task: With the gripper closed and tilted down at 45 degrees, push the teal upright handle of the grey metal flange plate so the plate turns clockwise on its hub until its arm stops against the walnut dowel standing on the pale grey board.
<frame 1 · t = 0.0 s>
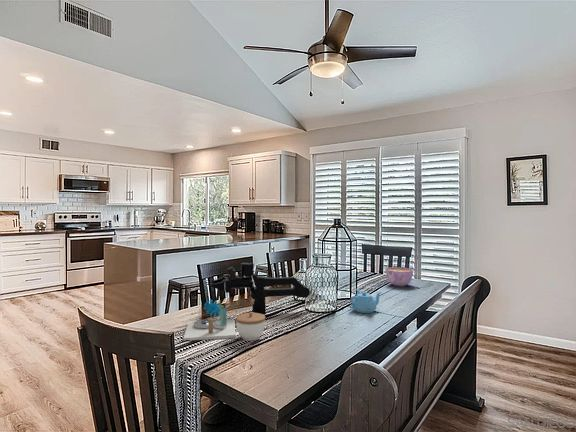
hand: (211, 283, 190), 17 cm above the table, tool horizontal, fingers open, 9 cm apart
lidded bowl: (250, 338, 157), on the table
clock board: (204, 328, 169), on the table
bowl of food: (399, 285, 262), on the table
flange plate: (210, 316, 167), point 6 cm above the table, hinge at 0.0°
teapot: (366, 310, 198), on the table
gear: (214, 315, 190), on the table
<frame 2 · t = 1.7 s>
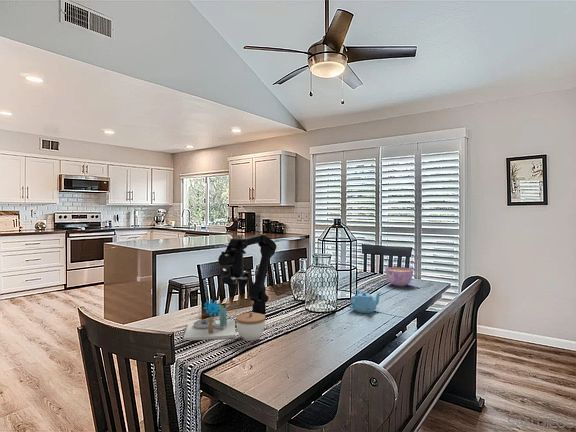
hand: (237, 294, 180), 13 cm above the table, tool pointing down, fingers open, 6 cm apart
nothing on the table moved.
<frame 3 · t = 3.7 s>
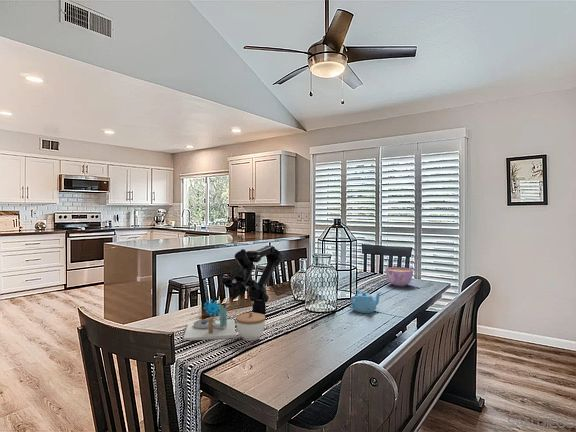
hand: (233, 298, 172), 13 cm above the table, tool tilted 45°, fingers closed
nothing on the table moved.
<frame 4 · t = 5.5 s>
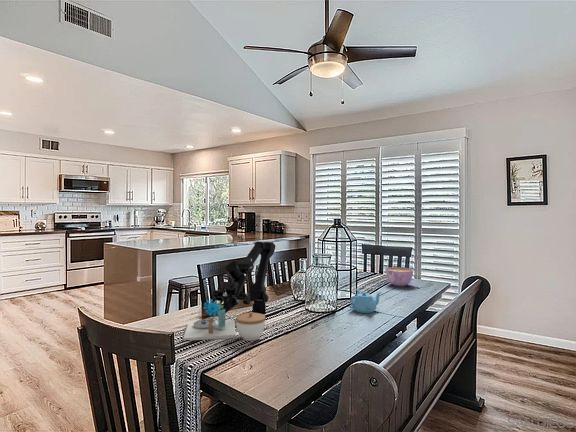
hand: (223, 313, 165), 8 cm above the table, tool tilted 45°, fingers closed, pressing on flange plate
flange plate: (209, 316, 167), point 6 cm above the table, hinge at -5.7°, touching gripper
everything else where it was.
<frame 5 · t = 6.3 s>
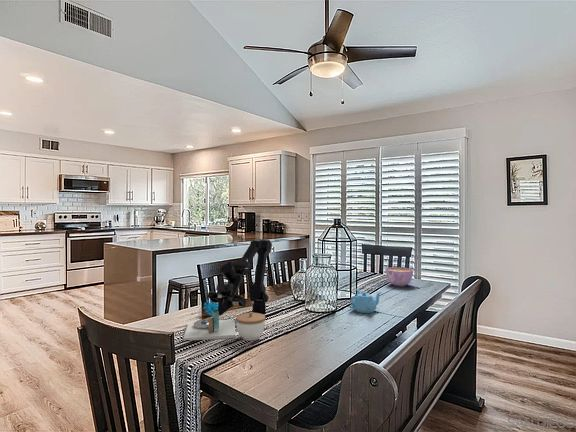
hand: (218, 315, 162), 8 cm above the table, tool tilted 45°, fingers closed
flange plate: (207, 317, 166), point 6 cm above the table, hinge at -25.0°, touching clock board, gripper
everything else where it was.
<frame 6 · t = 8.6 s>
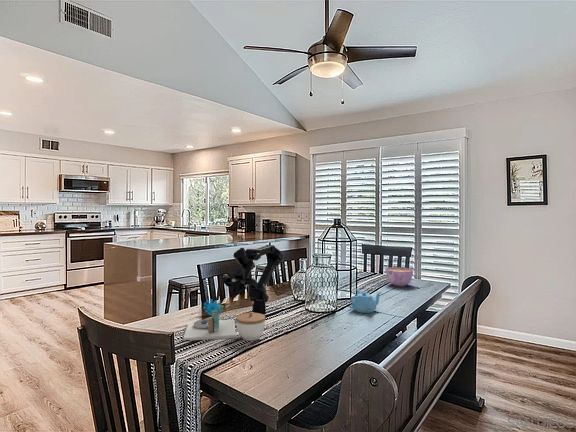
hand: (233, 297, 172), 13 cm above the table, tool tilted 40°, fingers closed
flange plate: (207, 317, 166), point 6 cm above the table, hinge at -25.0°, touching clock board
everything else where it was.
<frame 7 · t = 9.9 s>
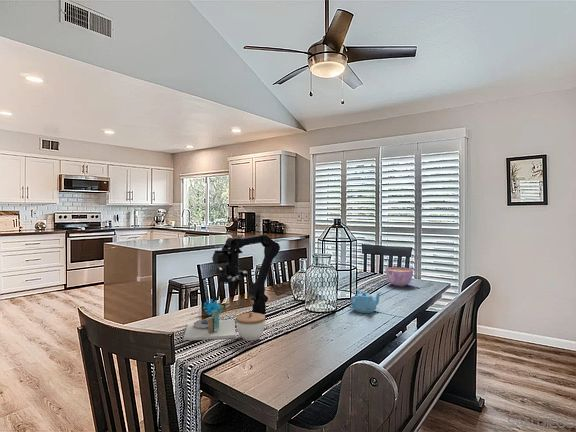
hand: (233, 293, 184), 13 cm above the table, tool pointing down, fingers closed
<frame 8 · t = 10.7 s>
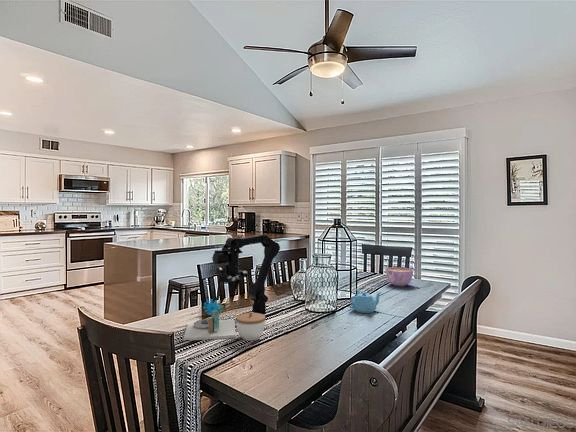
hand: (233, 293, 184), 13 cm above the table, tool pointing down, fingers closed
at the end: flange plate at -25° (first picture: +0°); flange plate touching clock board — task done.
